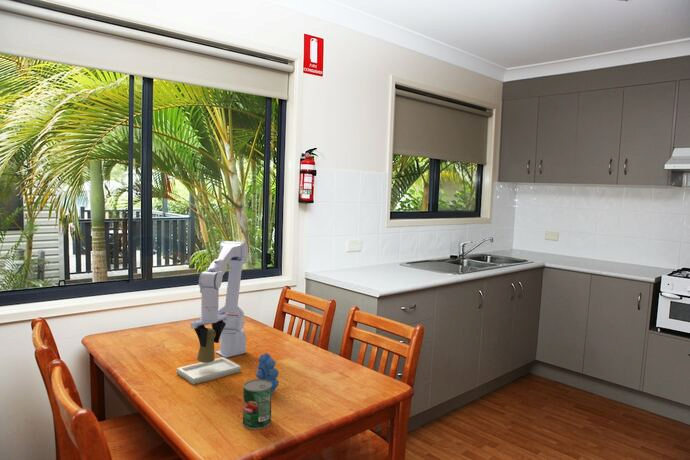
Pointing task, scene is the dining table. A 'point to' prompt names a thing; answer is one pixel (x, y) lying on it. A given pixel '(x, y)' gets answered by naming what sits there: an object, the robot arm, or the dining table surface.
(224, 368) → the white tray
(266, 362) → the grapes
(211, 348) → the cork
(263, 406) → the canned tomato
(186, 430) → the dining table surface
